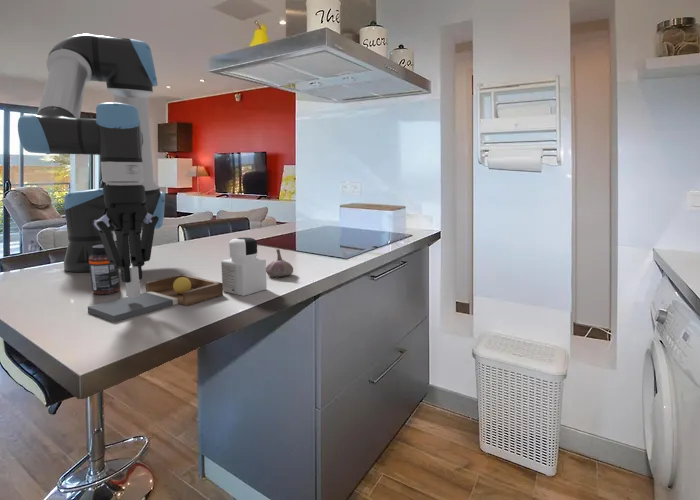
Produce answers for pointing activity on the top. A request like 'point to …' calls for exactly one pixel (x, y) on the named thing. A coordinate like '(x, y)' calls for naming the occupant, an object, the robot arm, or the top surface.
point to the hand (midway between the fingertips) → (133, 296)
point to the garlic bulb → (279, 267)
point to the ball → (181, 285)
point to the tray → (196, 294)
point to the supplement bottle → (103, 272)
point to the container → (243, 268)
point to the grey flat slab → (132, 306)
